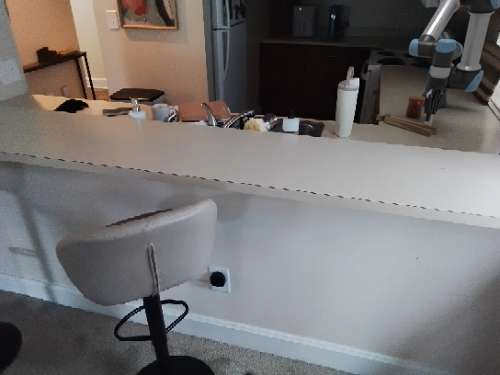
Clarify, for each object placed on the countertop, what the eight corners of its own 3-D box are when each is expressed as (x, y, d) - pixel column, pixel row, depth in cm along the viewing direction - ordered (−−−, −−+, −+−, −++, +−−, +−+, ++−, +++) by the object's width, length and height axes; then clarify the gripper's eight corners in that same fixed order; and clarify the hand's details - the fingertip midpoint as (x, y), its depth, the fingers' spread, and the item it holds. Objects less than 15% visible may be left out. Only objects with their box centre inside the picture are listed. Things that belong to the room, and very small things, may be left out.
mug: (402, 113, 205) (406, 94, 201) (419, 115, 204) (424, 96, 199) (406, 120, 195) (410, 100, 190) (424, 121, 193) (429, 101, 189)
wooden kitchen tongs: (382, 118, 197) (383, 112, 195) (434, 134, 176) (436, 127, 175) (376, 120, 194) (377, 113, 193) (428, 136, 174) (430, 129, 172)
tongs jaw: (391, 120, 193) (392, 115, 191) (437, 132, 178) (438, 126, 176) (389, 121, 191) (390, 116, 190) (434, 133, 176) (436, 128, 175)
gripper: (438, 73, 176) (427, 123, 187) (423, 76, 169) (411, 127, 180) (454, 76, 171) (441, 127, 182) (438, 79, 164) (426, 132, 175)
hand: (426, 127), depth 181 cm, fingers closed
